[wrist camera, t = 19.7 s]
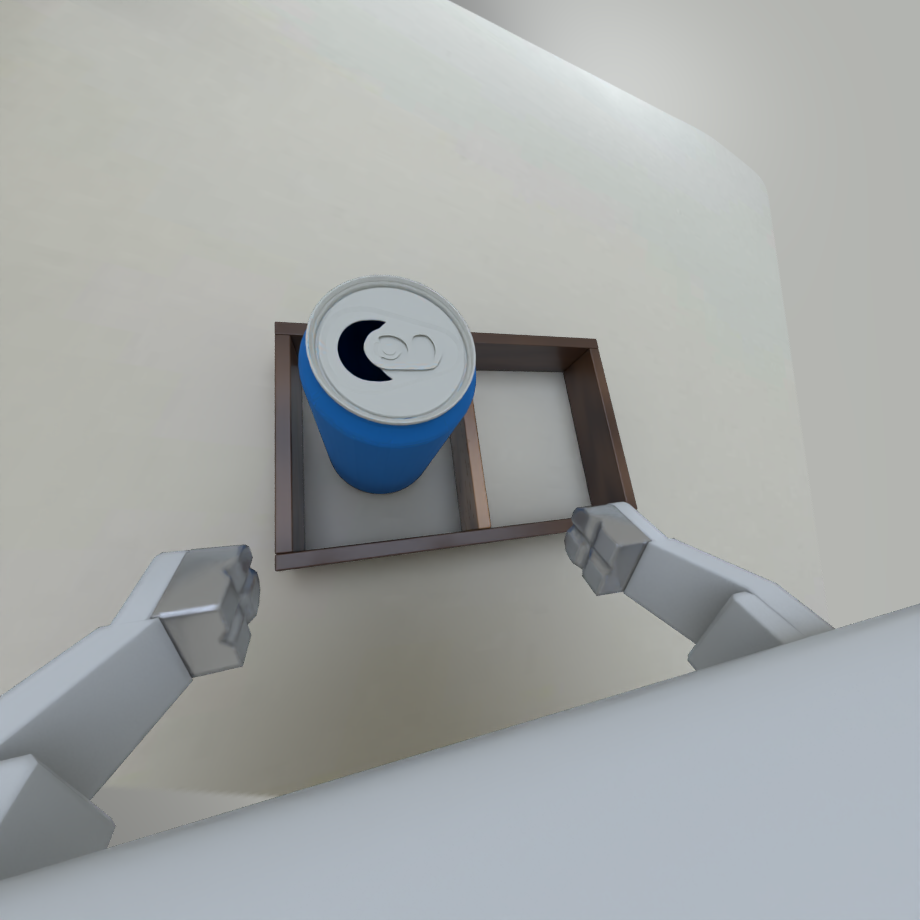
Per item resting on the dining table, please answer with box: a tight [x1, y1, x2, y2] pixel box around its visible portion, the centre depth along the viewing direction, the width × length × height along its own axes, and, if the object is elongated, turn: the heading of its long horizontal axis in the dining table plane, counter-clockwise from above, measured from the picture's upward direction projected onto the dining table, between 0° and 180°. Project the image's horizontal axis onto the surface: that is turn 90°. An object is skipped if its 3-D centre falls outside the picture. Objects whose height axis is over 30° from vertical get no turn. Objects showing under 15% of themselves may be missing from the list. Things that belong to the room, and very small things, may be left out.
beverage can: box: [298, 275, 476, 494], centre depth 17 cm, size 6×6×12 cm
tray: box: [275, 322, 637, 571], centre depth 22 cm, size 14×22×4 cm, turn 98°
